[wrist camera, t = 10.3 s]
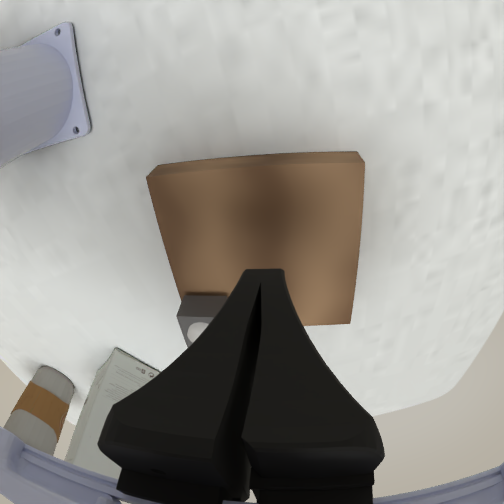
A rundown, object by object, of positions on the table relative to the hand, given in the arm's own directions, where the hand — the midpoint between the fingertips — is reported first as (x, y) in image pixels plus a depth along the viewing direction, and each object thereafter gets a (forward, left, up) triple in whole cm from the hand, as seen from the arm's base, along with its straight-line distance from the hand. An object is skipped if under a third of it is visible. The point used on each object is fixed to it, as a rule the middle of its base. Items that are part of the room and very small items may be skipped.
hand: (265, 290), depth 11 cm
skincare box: (-18, -21, -10) cm, 29 cm away
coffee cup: (-33, -26, -10) cm, 43 cm away
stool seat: (-1, -9, -9) cm, 13 cm away
